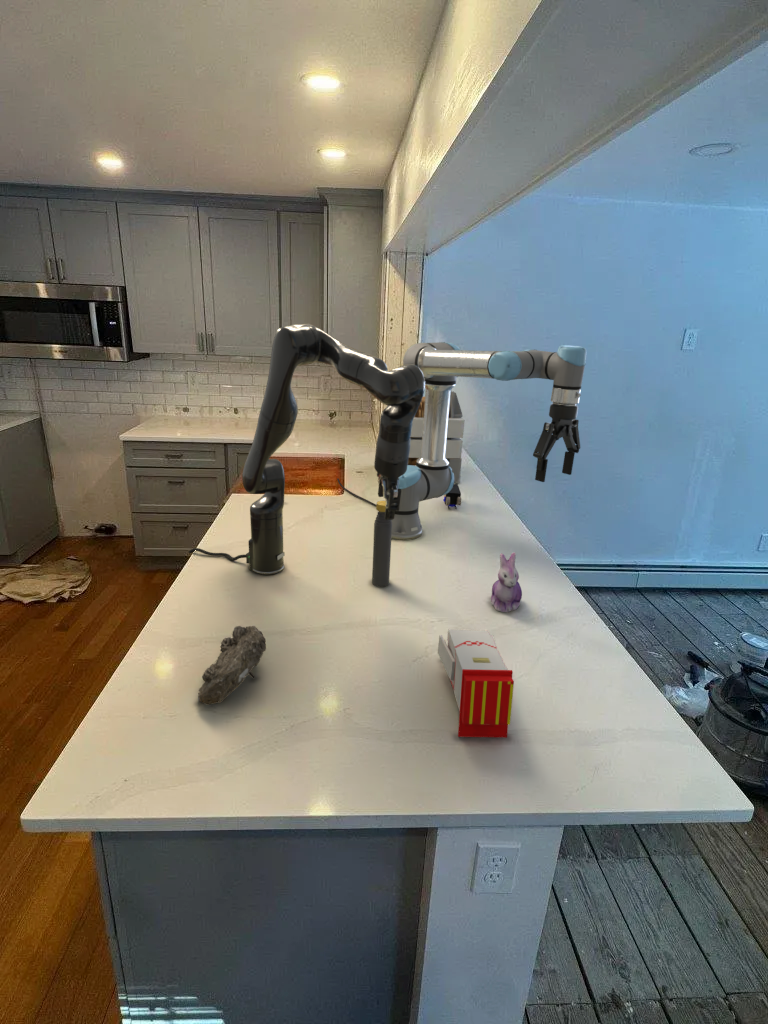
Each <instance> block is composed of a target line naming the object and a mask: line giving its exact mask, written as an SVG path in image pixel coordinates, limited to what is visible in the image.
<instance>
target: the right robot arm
mask: <svg viewBox="0 0 768 1024" xmlns="http://www.w3.org/2000/svg"><path fill="white" fill-rule="evenodd" d="M586 361H587V348H585V347H584V346H580V345H559V346H558V349H557V351H555V352H554V351H546V350H539V349H523V350H512V351H511V350H468V349H467V350H464V349H460V347H459V346H458V345H457V344H455V343H451V342H445V341H444V342H442V341H441V342H440V341H439V342H438V341H437V342H417V343H415V344H412V345H411V346H410V347H408V348H407V350H406V351H405V353H404V355H403V359H402V364H403V365H406V364H413V365H416V366H417V367H419V368H420V370H421V371H422V373H423V375H424V379H425V390H424V397H425V406H424V421H423V435H422V450H421V457H420V458H418V459H417V461H416V466H413V465H407V471H406V472H405V474H403V475H402V476H400V477H399V486H398V487H399V489H401V498H400V506H399V511H395V516H394V519H392V520H391V521H392V535H391V540H395V541H410V540H415V539H418V538H420V537H421V536H422V535H423V525H422V524H421V518H420V515H419V507H420V506H419V505H420V502H423V501H427V500H431V499H437V498H440V497H444V495H445V494H447V493H448V492H449V491H450V490H451V489H452V487H453V484H455V483H454V473H452V469H451V467H450V466H449V462H448V461H447V459H446V458H445V454H446V442H447V430H448V418H449V406H450V394H451V391H452V389H453V388H455V386H456V385H457V378H458V377H459V378H473V379H474V378H477V379H491V380H492V379H493V380H496V381H502V382H507V381H514V380H530V379H541V380H550V381H552V390H551V396H550V401H551V403H550V405H549V412H548V416H549V417H550V418H551V422H546V421H545V422H544V423H543V428H542V431H541V434H540V437H539V439H538V441H537V444H536V446H535V449H534V450H533V453H532V456H533V457H534V458H537V461H536V467H535V469H536V470H535V478H534V480H535V481H538V482H541V483H545V482H546V476H547V468H548V463H549V461H548V460H549V459H548V456H549V454H550V452H551V451H552V449H553V448H554V445H555V444H556V443H557V441H559V440H560V439H561V438H562V439H563V442H564V445H565V448H566V450H567V451H565V452H564V456H563V463H562V468H561V469H562V470H561V474H564V475H568V476H571V475H572V472H573V466H574V461H575V460H574V459H575V454H579V452H580V450H581V441H580V431H579V422H580V421H579V419H577V418H578V412H579V406H578V404H579V403H580V397H581V396H582V395H581V393H582V392H581V391H582V385H583V379H584V373H585V369H586V365H587V364H586ZM403 365H402V366H403ZM336 480H337V482H338V485H339V486H340V487H341V488H342V489H343V490H344V491H346V492H347V493H349V494H350V495H351V496H354V497H356V498H358V499H360V500H362V501H364V502H366V503H368V504H369V505H371V506H373V507H376V504H377V503H374V502H373V501H370V500H368V499H366V498H364V497H361V496H360V495H358V494H356V493H354V492H352V491H351V490H349V489H347V488H346V487H345V486H344V485H343V484H342V482H341V481H340V479H339V478H338V477H337V478H336ZM387 495H389V492H387Z"/></svg>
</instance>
